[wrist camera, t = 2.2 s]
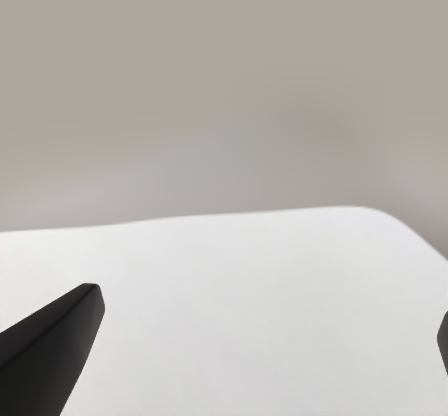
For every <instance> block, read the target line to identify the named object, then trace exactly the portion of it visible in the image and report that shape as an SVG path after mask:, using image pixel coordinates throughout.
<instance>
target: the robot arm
mask: <svg viewBox="0 0 448 416" xmlns="http://www.w3.org/2000/svg"><path fill="white" fill-rule="evenodd" d="M104 312H105V304H104V300H103V296H102V293H101V289H100V286H99V285H98V284H92V283H83V284H81V285H79V286H78V287H76V288H74V289H73V290H71V291H69V292H68V293H66V294H64V295H63V296H61V297H60V298H58V299H56V300H55V301H53V302H51V303H50V304H48V305H46V306H45V307H43V308H41V309H40V310H38V311H36V312H35V313H33V314H31V315H30V316H28V317H26V318H25V319H23V320H21V321H20V322H18V323H16V324H15V325H13V326H11V327H10V328H8V329H6V330H5V331H3V332H1V333H0V416H60V414H61V412H62V410H63V408H64V406H65V404H66V402H67V400H68V398H69V396H70V394H71V392H72V390H73V388H74V386H75V384H76V382H77V380H78V378H79V376H80V374H81V372H82V370H83V367H84V365H85V363H86V360H87V358H88V355H89V353H90V350H91V347H92V345H93V342H94V340H95V337H96V334H97V332H98V329H99V326H100V324H101V321H102V318H103V316H104ZM437 342H438V346H439V349H440V352H441V356H442V359H443V362H444V365H445V368H446V372H447V375H448V311H447V312H446V314H445V316H444V318H443V321H442V323H441V326H440V328H439V331H438V334H437Z"/></svg>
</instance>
